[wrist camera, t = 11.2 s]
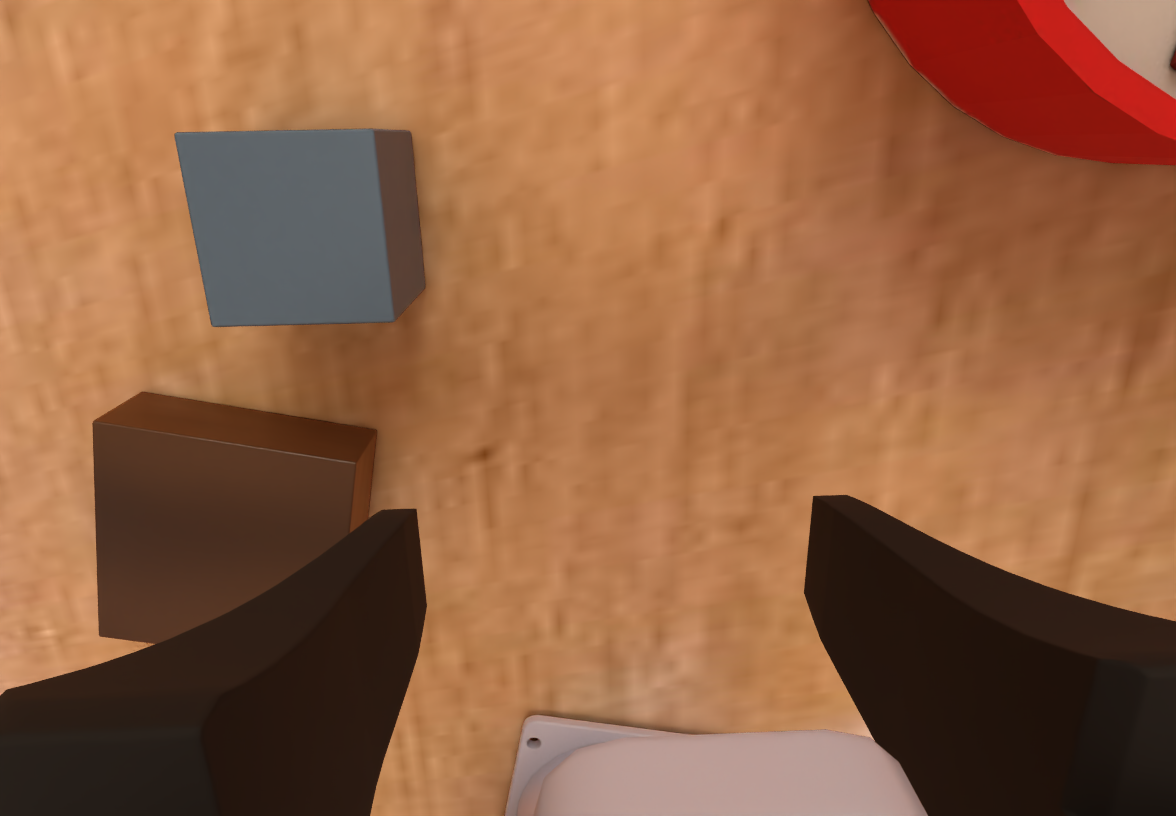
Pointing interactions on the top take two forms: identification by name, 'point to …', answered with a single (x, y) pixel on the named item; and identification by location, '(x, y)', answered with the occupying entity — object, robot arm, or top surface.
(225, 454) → the walnut tile
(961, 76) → the toy clock
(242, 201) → the grey cube
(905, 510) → the top surface
